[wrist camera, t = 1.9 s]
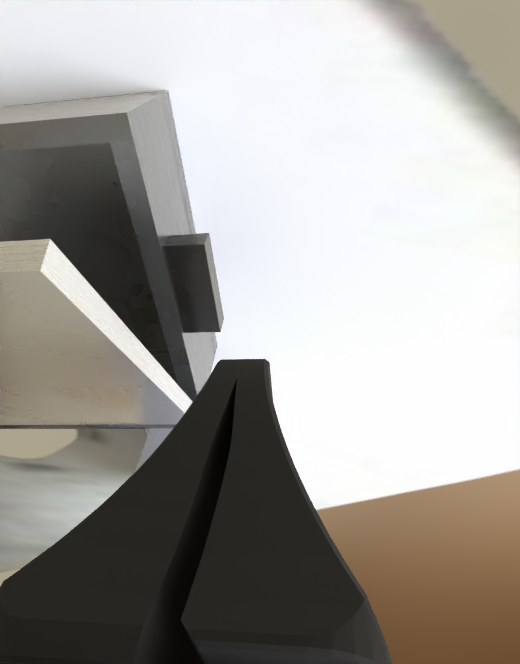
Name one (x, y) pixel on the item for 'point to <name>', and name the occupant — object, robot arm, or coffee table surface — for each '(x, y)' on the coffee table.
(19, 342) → the lid
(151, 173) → the cooker pot
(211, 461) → the robot arm
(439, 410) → the coffee table surface
